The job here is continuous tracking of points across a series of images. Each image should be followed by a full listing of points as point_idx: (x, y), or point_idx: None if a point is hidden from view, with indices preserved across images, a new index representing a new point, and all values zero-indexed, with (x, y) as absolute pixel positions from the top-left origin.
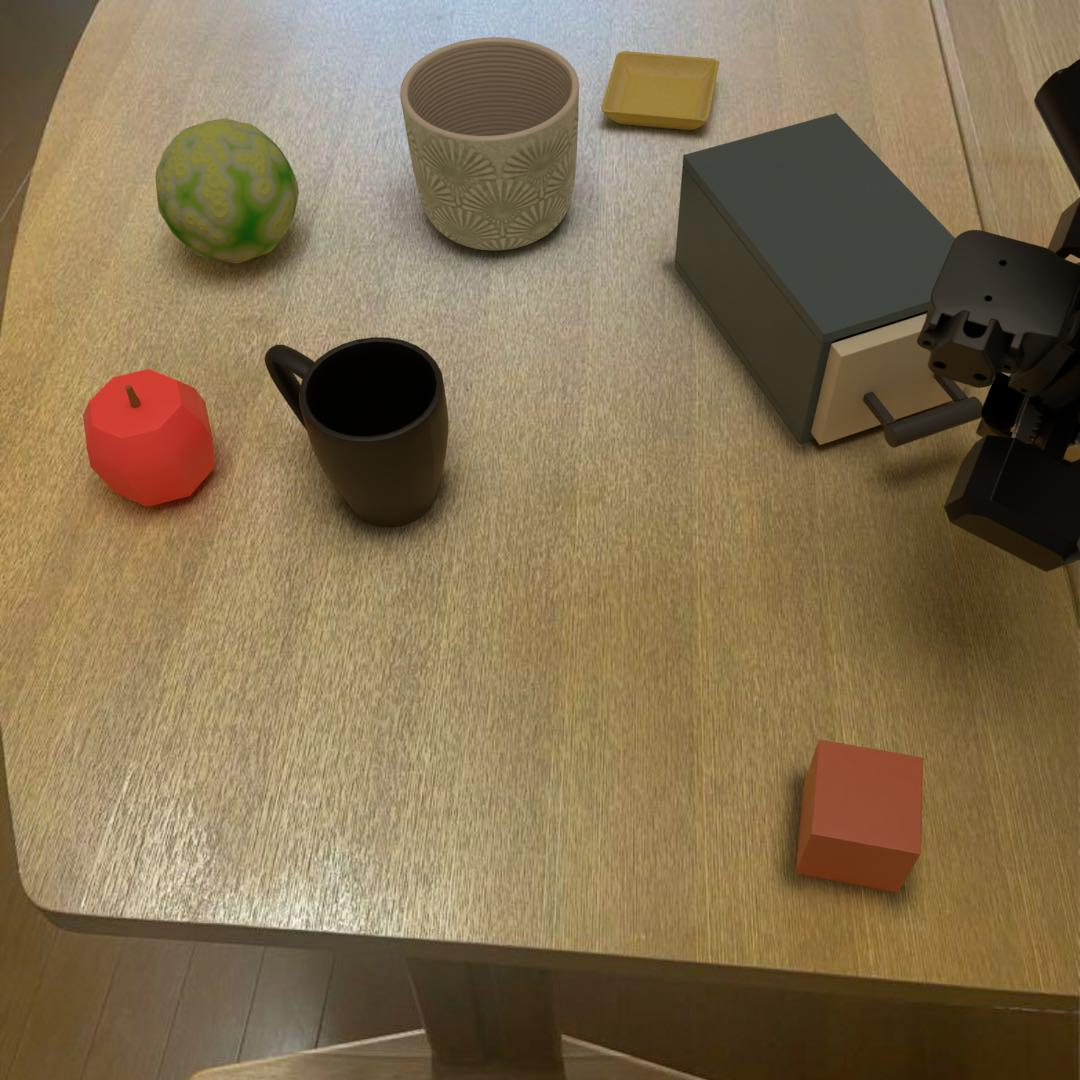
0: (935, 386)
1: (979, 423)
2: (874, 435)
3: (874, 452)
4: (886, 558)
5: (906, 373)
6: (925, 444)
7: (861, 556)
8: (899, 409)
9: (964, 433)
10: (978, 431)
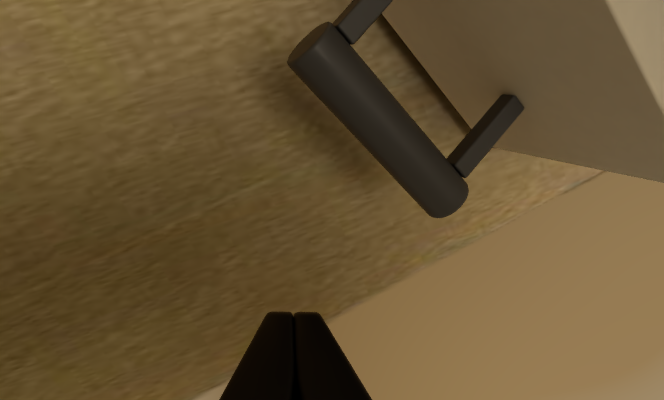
0: (486, 102)
1: (302, 316)
2: None
3: None
4: (77, 119)
5: (490, 32)
6: None
7: (53, 68)
8: (424, 48)
9: None
10: (254, 336)
